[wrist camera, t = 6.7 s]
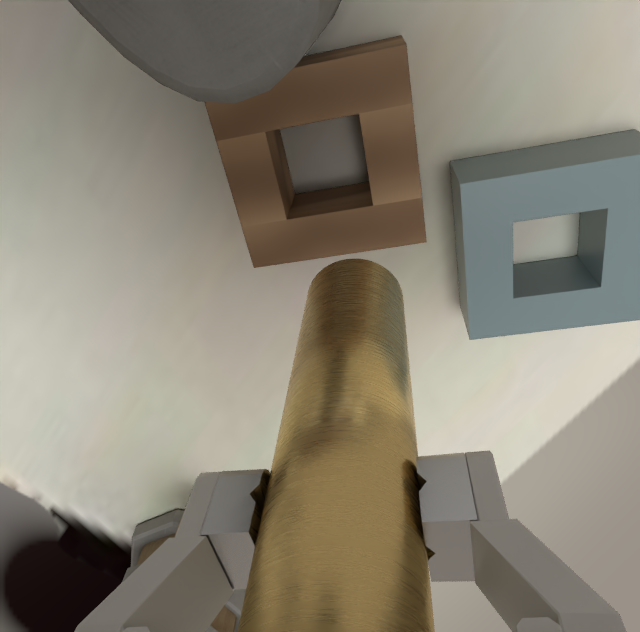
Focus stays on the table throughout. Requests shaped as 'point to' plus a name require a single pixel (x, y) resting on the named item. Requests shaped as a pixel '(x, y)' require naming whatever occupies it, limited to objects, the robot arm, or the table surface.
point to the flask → (211, 41)
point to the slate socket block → (540, 202)
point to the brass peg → (344, 472)
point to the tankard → (153, 537)
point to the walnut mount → (335, 203)
